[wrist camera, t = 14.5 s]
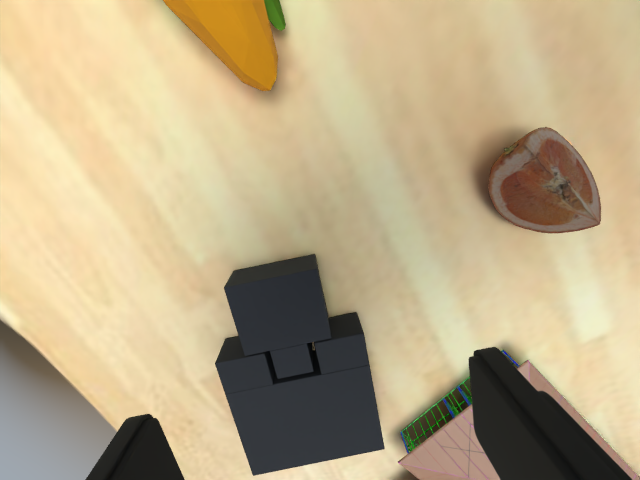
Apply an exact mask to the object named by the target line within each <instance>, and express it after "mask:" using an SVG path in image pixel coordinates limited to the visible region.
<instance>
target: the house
mask: <svg viewBox="0 0 640 480" xmlns="http://www.w3.org/2000/svg"><path fill="white" fill-rule="evenodd" d="M502 352H504V353H505V354H506V355H507V356H508V357H509V358H510V359H511V360H512V361H513V363H512V364H514V363H515V364H516V365H517V366H518V368H517V370H518V371H519V372H520V373H521V374H522V375H523V376H524V377H525V378H526V379H527V380H528V381H529V382H530V384H531V385H532V386H533V387H534V388H535V389H536V390H537V391H544V392H546V393H548V394H549V395H550V396H552V397H553V398H554V399H555V400H556V401H557V402H558V403H559V404H560V405H561V407H562V408H563V409H564V410H565V411H566V412H567V413H568V414H569V415H570V416H571V417H572V418H573V419H574V420H575V421H576V422H577V423H578V424H579V425H580V426H581V427H582V428H583V429H584V430H585V431H586V432H587V433H588V434H589V435H590V436H591V437H592V438H593V439H594V440H595V442H596V443H597V444H598V445H599V446H600V447H601V448H602V449H603V450H604V451H605V452H606V453H607V454H608V455H609V456H610V457H611V458H612V459H613V460H614V461H615V462H616V463H617V464H618V465H619V466H620V467H621V468H622V469H623V470H624V471H625V472H626V473H627V474H628V475H629V477H630V478H631V479H632V480H640V477H639V476H638V475H637V474H636V473H635V472H634V471H633V470H632V469H631V468H630V467H629V466H628V465H627V464H626V463H625V462H624V461H623V459H622V458H621V457H620V456H619V455H618V454H617V453H616V452H615V451H614V450H613V449H612V448H611V447H610V446H609V445H608V444H607V443H606V442H605V441H604V440H603V438H602V437H601V436H600V435H599V434H598V433H597V432H596V431H595V430H594V429H593V428H592V427H591V426H590V425H589V424H588V423H587V422H586V421H585V420H584V419H583V417H582V416H581V415H580V414H579V413H578V412H577V411H576V410H575V409H574V408H573V407H572V406H571V405H570V404H569V403H568V402H567V401H566V400H565V399H564V397H563V396H562V395H561V394H560V393H559V392H558V391H557V390H556V389H555V388H554V387H553V386H552V385H551V384H550V383H549V382H548V381H547V380H546V379H545V378H544V376H543V375H542V374H541V373H540V372H539V371H538V370H537V369H536V368H535V367H534V366H533V365H532V364H531V363H530V362H529V361H528V360H527V361H526V362H524V363H523V364H522V365H521V366H519V365H518V364H517V363H516V362H515V361H514V360H513V359H512V358H511V357H510V356H509V355H508V354H507V353H506V352H505V351H504V350H502V351H501V353H502ZM469 378H470V376H469V377H468V378H467V379H466V380H464V381H463V382H462V383H461V384H460V385H458V386H457V387H456V388H455V389H453V390H452V391H451V392H450V393H448V394H447V395H446V396H445V397H443V398H442V399H441V400H440V401H438V402H437V403H436V404H435V405H433V406H432V407H431V408H430V409H428V410H427V411H426V412H425V413H423V414H422V415H421V416H420V417H418V418H417V419H416V420H415V421H413V422H412V423H411V424H410V425H408V426H407V427H406V428H405V429H403V430H402V431H401V432H400V433H401V435H402V438H403V441H404V444H405V447H406V450H407V453H408V454H407V455H406V456H405V457H403V458H402V459H401V460H399V461H398V463H399V464H400V465H402V466H403V467H404V468H405V469H407V470H408V471H409V472H410V473H412V474H413V475H414V476H416V477H417V478H418V479H419V480H500V478H499V476H498V474H497V473H496V471H495V469H494V467H493V466H492V464H491V462H490V460H489V459H488V457H487V455H486V454H485V452H484V450H483V448H482V447H481V445H480V443H479V441H478V439H477V437H476V434H475V430H474V423H473V410H472V403H471V402H472V399H471V396H470V397H469V396H468V395H467V394H466V393H465V392H464V391H463V390H462V389H461V388H460V387H459V386H461V385H462V384H464V382H466V381H467V380H468V379H469ZM464 385H465V384H464ZM465 387H466V385H465ZM457 388H458V390H459V391H460V393H461V394H462V396H463V398H464V399H465V400H464V401H463V402H462V403H464V402H465V401H466V402H467V404H468V405H469V406H468V407H467V408H466V409H465V410H462V409H461V407H460V405H461V404H462V403H460V404H458V402H457V401H456V399H455V397H454V396H453V394H452V392H453V391H454V390H456V389H457ZM466 388H467V387H466ZM467 390H468V388H467ZM468 391H469V390H468ZM469 392H470V391H469ZM449 394H452V396H453V397H454V399H455V401H456V402H457V404H458V406H457V407H456V408H455V406H454V405H453V406H454V407H453V406H452V405H451V404H450V403H449V402H448V401H447V400H445V398H446V397H447V396H448V395H449ZM470 394H471V393H470ZM448 398H449V396H448ZM449 399H450V398H449ZM469 399H470V400H469ZM442 400H443V401H444V403H445V405H446V407H447V408H448V410H449V412H450V413H448V414H447V415H446V416H445V417H447V416H448V415H449V414H451V415H452V417H453V419H452V420H451V421H449V422H448V423H447V422H446V420H445V417H444V416H443V415H442V416H443V418H444V420H445V422H446V424H445V425H444V426H443V427H442V428H440V427H439V430H438V431H436V432H435V433H433V431H432V429H431V428H433V427H434V426H435V425H436V424H438V422H440V421H441V420H442V419H443V418H441V419H440V420H439V421H437V420H436V418H435V416H434V414H433V412H432V410H431V409H432V408H433V407H434V406H436V405H437V404H438V403H439V402H441V401H442ZM450 401H451V400H450ZM451 403H452V401H451ZM452 404H453V403H452ZM437 407H438V405H437ZM451 407H452V408H453V410H454V412H455V413H454V412H453V410H452V408H451ZM458 407H460V409H461V410H462V412H461V413H460V412H459V411H458V410H456V409H457V408H458ZM438 409H439V407H438ZM429 410H431V412H432V414H433V416H434V418H435V420H436V422H437V423H436V424H434V425H433V426H432V427H431V426H430V424H429V422H428V420H427V418H426V416H425V414H426V413H427V412H428V411H429ZM455 410H456V411H457V413H458V414H457V413H456V411H455ZM439 411H440V409H439ZM440 413H441V411H440ZM441 414H442V413H441ZM455 414H456V415H457V416H456V415H455ZM423 415H424V416H425V418H426V420H427V422H428V424H429V426H430V428H429V429H431V431H432V433H433V435H431V436H430V437H429V438H428V439H427V437H426V435H425V433H426V432H427V431H428V430H429V429H427V430H426V431H425V432H424V430H423V428H422V425H421V423H420V421H419V418H421V417H422V416H423ZM417 420H418V421H419V423H420V425H421V428H422V430H423V432H424V433H423V434H422V435H425V437H426V440H425V441H424V442H422V443H420V441H419V438H420V437H421V436H422V435H420V436H419V437H418V436H417V433H416V431H415V428H414V426H413V423H414V422H416V421H417ZM411 425H412V426H413V428H414V431H415V433H416V436H417V438H416V439H415V440H417V439H418V441H419V443H420V445H419V446H418V445H417V444H416V443H415V442H414V441H415V440H413V441H412V440H411V439H410V436H409V433H408V431H407V428H408V427H409V426H411ZM438 426H439V425H438ZM404 430H406V431H407V433H408V436H409V437H408V436H406V435H405V434H404V433H403V431H404ZM404 436H405V437H406V438H407V440H408V443H409V445H408V446H407V443H406V441H405V438H404ZM409 440H410V441H411V443H410V442H409ZM411 444H412V447H413V450H412V448H411ZM414 444H415V445H416V446H417V447H416V448H415V446H414ZM409 446H410V449H411V450H410V449H409V448H408V447H409ZM409 450H410V451H411V452H409Z"/></svg>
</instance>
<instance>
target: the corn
mask: <svg viewBox="0 0 640 480" xmlns="http://www.w3.org/2000/svg"><path fill="white" fill-rule="evenodd" d="M163 1H164V2H165V4H166V5H167V6H168V7H169V8H170V9H171V10H172V11H173V12H174V13H175V14H176V15H177V16H178V17H179V18H180V19H181V20H182V21H183V22H184V23H185V24H186V25H187V26H188V27H189V28H190V29H191V30H192V31H193V32H194V33H195V34H196V35H197V36H198V37H199V38H200V39H201V40H202V41H203V43H204V44H205V45H206V46H207V47H208V48H209V49H210V50H211V51H212V52H213V53H214V54H215V55H216V56H217V57H218V58H219V59H220V60H221V61H222V62H223V63H224V64H225V65H226V66H227V67H228V68H229V69H230V70H231V71H232V72H233V73H234V74H235V75H236V76H237V77H238V78H239V79H240V80H241V81H242V82H243V83H246V84H248V85H250V86H252V87H255V88H257V89H259V90H262V91H269V90H271V88H272V86H273V84H274V82H275V80H276V78H277V63H278V55H277V51H276V47H275V43H274V39H273V35H272V31H271V27H270V23H269V20H270V22H271V23H272V24H273V26H274V27H275V28H277V29H279V30H281V31H282V30H284V29H285V25H286V24H285V20H284V15H283V12H282V8H281V5H280V1H279V0H163Z"/></svg>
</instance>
